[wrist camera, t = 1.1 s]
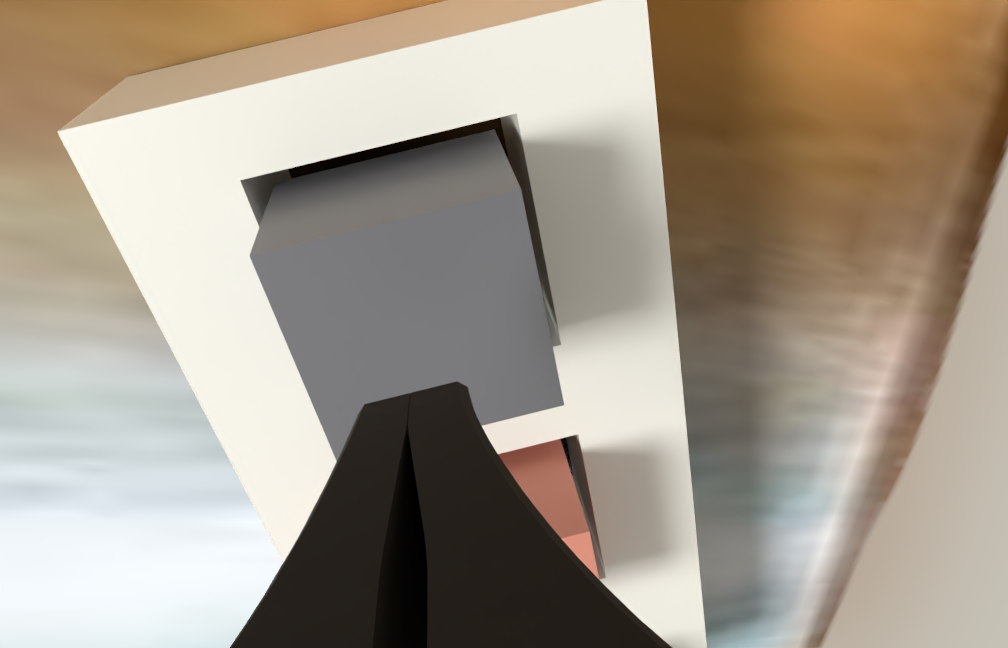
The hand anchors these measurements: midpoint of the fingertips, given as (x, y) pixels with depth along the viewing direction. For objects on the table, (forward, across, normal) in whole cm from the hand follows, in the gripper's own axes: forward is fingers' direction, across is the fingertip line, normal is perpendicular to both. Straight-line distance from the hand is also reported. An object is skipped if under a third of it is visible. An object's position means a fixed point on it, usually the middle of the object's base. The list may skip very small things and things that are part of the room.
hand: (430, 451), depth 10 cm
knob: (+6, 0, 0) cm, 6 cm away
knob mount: (+9, 0, +8) cm, 12 cm away
